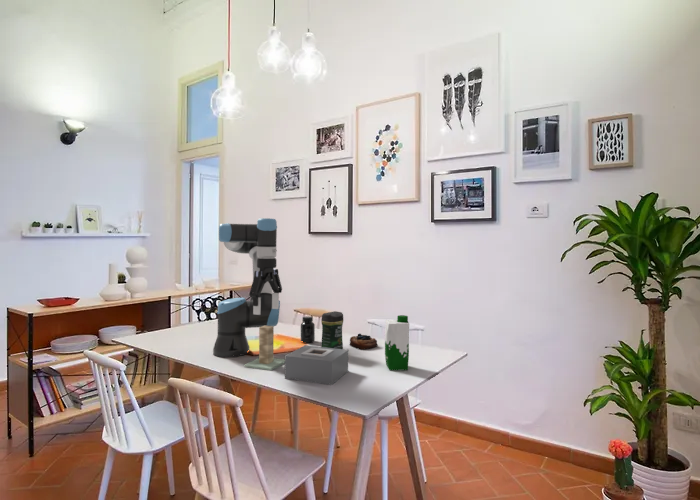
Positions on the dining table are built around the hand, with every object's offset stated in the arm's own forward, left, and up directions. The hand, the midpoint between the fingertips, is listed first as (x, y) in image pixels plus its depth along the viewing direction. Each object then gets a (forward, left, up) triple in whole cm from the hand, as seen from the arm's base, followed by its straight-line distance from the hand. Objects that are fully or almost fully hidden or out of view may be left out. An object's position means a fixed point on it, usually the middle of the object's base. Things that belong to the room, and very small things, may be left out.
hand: (266, 311), depth 160 cm
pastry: (+27, +41, -21) cm, 54 cm away
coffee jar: (+19, +22, -21) cm, 36 cm away
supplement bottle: (-1, +39, -21) cm, 44 cm away
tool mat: (0, 0, -21) cm, 21 cm away
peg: (0, 0, -20) cm, 20 cm away
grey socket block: (+24, -4, -21) cm, 32 cm away
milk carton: (+49, +15, -21) cm, 56 cm away
